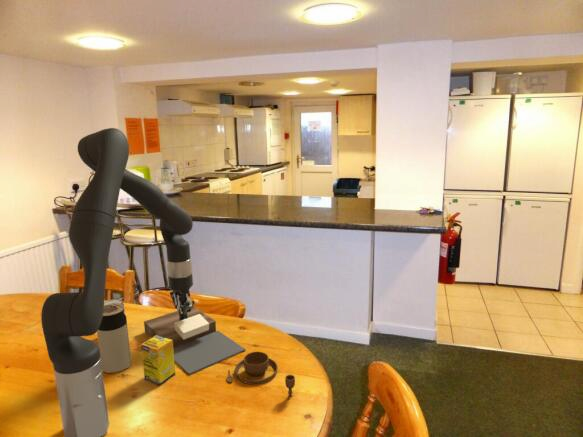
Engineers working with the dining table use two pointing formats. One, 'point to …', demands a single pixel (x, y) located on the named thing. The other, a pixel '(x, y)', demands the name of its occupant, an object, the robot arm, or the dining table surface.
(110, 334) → the travel mug
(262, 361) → the place setting
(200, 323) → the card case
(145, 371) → the supplement box
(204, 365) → the rubber mat
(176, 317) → the walnut board
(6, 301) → the dining table surface
